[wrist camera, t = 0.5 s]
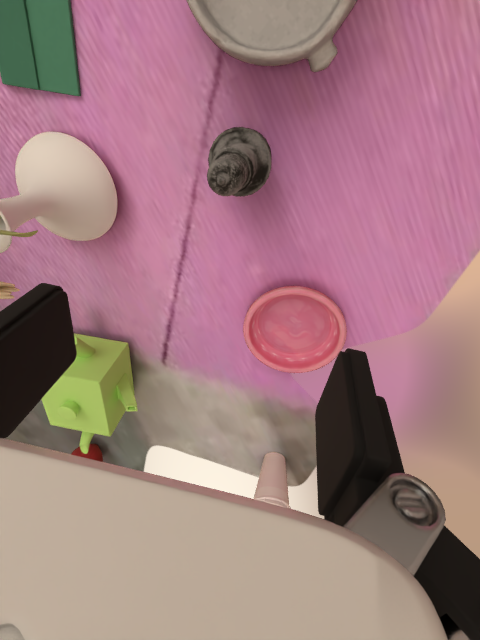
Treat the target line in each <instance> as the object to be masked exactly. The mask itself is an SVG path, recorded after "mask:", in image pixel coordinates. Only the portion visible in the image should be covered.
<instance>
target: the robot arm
mask: <svg viewBox="0 0 480 640" xmlns="http://www.w3.org/2000/svg"><path fill="white" fill-rule="evenodd" d="M76 355H77V351H76V345H75V339H74V333H73V326H72V320H71V314H70V308H69V302H68V296H67V294H66V292H63V289H62V288H61V287H60V286H56V285H51V284H46V283H41V284H39V285H38V286H36V287H35V288H33V289H32V290H30V291H29V292H28V293H26V294H25V295H23V296H22V297H21V298H19V299H18V300H16V301H15V302H13V303H12V304H11V305H9V306H8V307H6V308H5V309H3V310H2V311H1V312H0V640H480V559H479V558H478V557H477V556H476V555H475V554H474V553H473V552H472V551H470V550H469V549H468V548H467V547H466V546H465V545H464V544H463V543H462V542H461V541H460V540H459V539H458V538H457V537H456V536H455V535H454V534H453V533H452V532H450V531H449V530H448V529H447V528H446V527H445V526H444V523H445V520H446V518H445V510H444V508H443V505H442V503H441V501H440V499H439V498H438V496H437V495H436V493H435V492H434V491H433V490H432V489H431V488H430V487H429V486H428V485H427V484H426V483H424V482H423V481H421V480H419V479H418V478H416V477H414V476H412V475H409V474H405V472H404V469H403V465H402V461H401V457H400V453H399V450H398V446H397V442H396V438H395V435H394V431H393V427H392V423H391V420H390V416H389V412H388V408H387V404H386V402H385V399H384V398H383V397H380V396H376V393H375V389H374V384H373V380H372V376H371V372H370V367H369V363H368V359H367V355H366V353H365V352H362V351H358V350H353V349H349V348H348V349H346V351H345V352H342V351H340V352H339V354H338V357H337V359H336V361H335V364H334V366H333V369H332V371H331V373H330V376H329V379H328V381H327V383H326V386H325V388H324V391H323V393H322V396H321V398H320V401H319V403H318V405H317V409H316V415H315V420H316V452H317V485H318V511H319V514H320V515H323V516H324V517H325V519H322V518H318V517H315V516H312V515H309V514H306V513H302V512H299V511H296V510H292V509H289V508H285V507H281V506H277V505H273V504H270V503H266V502H262V501H258V500H255V499H251V498H247V497H243V496H239V495H235V494H231V493H227V492H223V491H219V490H215V489H211V488H207V487H203V486H199V485H195V484H190V483H187V482H182V481H178V480H174V479H170V478H166V477H162V476H158V475H154V474H150V473H146V472H142V471H138V470H133V469H129V468H125V467H121V466H117V465H113V464H109V463H105V462H100V461H96V460H92V459H88V458H84V457H80V456H75V455H71V454H67V453H63V452H59V451H54V450H50V449H46V448H42V447H37V446H33V445H29V444H25V443H20V442H16V441H12V440H8V439H3V438H6V437H8V436H9V435H10V434H11V433H12V432H13V431H14V430H15V428H16V427H17V426H18V425H19V424H20V423H21V422H22V420H23V419H24V418H25V417H26V416H27V415H28V414H29V412H30V411H31V410H32V409H33V408H34V407H35V406H36V404H37V403H38V402H39V401H40V400H41V399H42V398H43V396H44V395H45V394H46V393H47V392H48V391H49V390H50V388H51V387H52V386H53V385H54V384H55V383H56V382H57V380H58V379H59V378H60V377H61V376H62V375H63V374H64V372H65V371H66V370H67V369H68V368H69V367H70V366H71V364H72V363H73V362H74V361H75V359H76Z"/></svg>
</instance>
